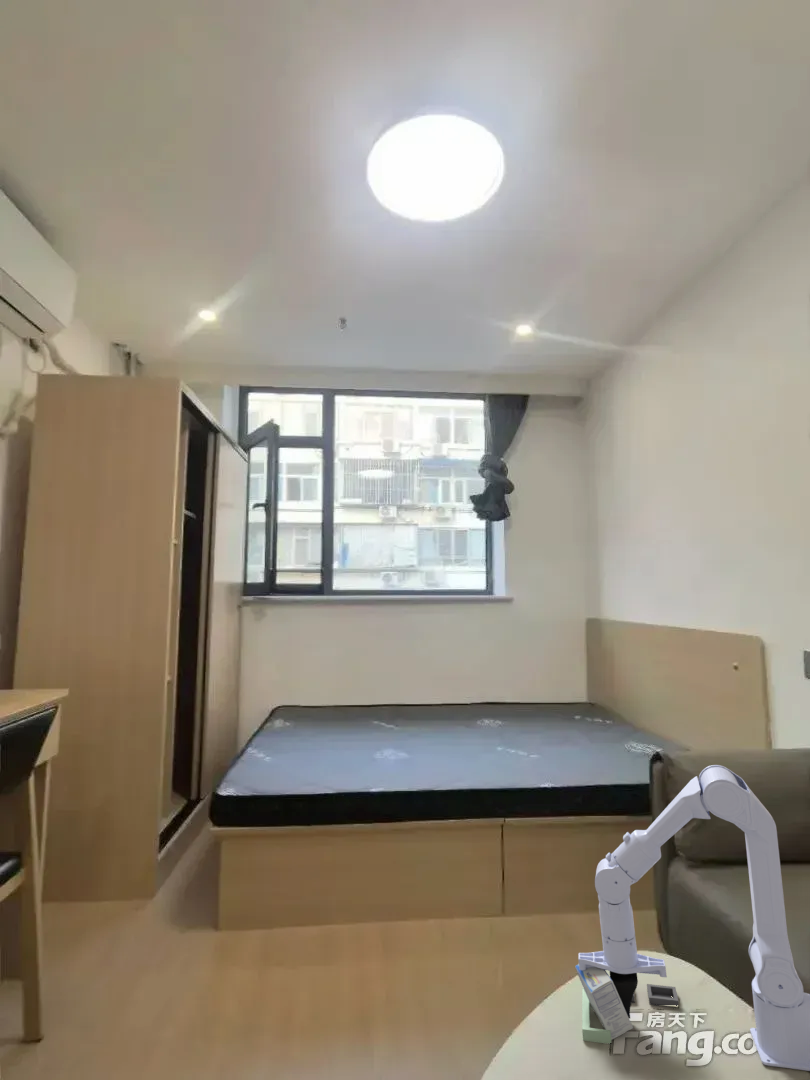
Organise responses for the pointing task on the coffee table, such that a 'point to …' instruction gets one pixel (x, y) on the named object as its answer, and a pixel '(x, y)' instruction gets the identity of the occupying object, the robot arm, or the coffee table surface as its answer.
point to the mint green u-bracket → (588, 1032)
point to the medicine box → (604, 1000)
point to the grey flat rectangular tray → (662, 995)
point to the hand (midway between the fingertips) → (626, 1014)
